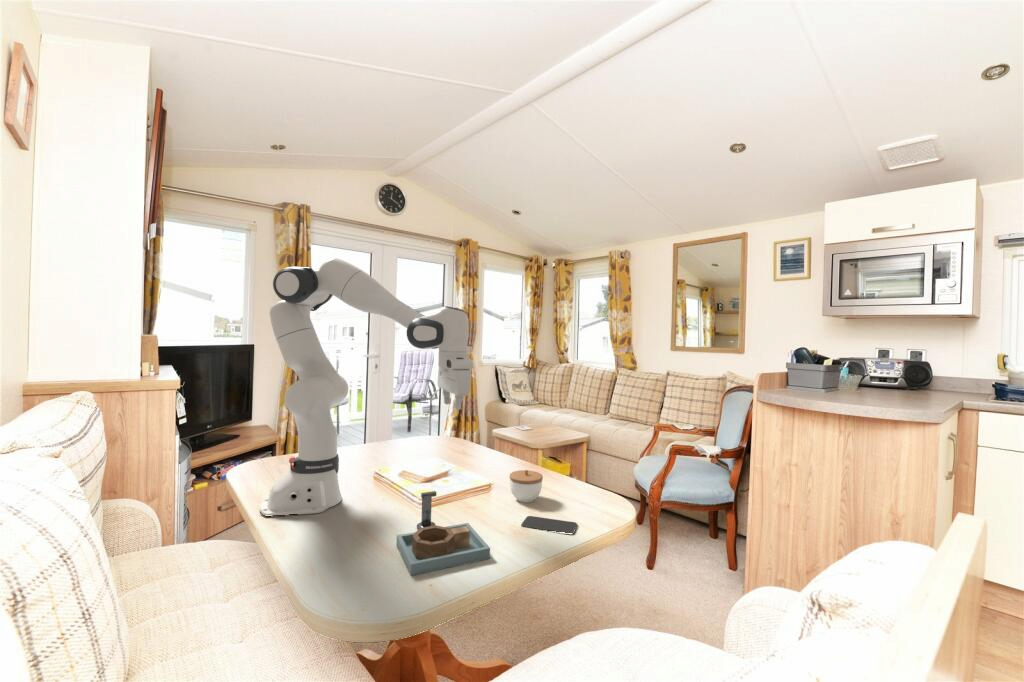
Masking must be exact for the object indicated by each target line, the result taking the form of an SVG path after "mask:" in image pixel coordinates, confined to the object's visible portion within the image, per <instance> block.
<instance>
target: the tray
mask: <svg viewBox="0 0 1024 682" xmlns="http://www.w3.org/2000/svg"><path fill="white" fill-rule="evenodd" d="M463 526H466V527H467V528H468V529H469V530H470V547H466V548H461V549H456V550H454V552H453V553H452V554H448V555H443V556H438V557H433V558H429V559H424V560H420V559H416V558H415V556H414V554H413V552H412V535H413V534H414V533H415V532H416V531H414V532H409V533H403V534H398V535H397V534H396V542H395V543H396V545H397V546H396V548H397V549H398V552H399V553H400V556H401V559H402V560H403V562H404V565H405V567H406V569H407V570H408V572H409V575H410V576H416V575H420V574H424V573H429V571H430V572H435V571H439V570H443V568H444V569H447V568H446V567H448V568H451V566H453V567H456V566H455V565H457V566H461V565H460V564H462V565H465V564H464V563H466V564H470V563H469V562H471V563H474V561H475V562H479V561H483V560H488V559H491V546H489V545H488V544H487V543H486V542H485V541H484V539H483V538H482V537H481V536H480V535H479V534H478V533H477V531H476V530H475V529H474V528H473V527H472V526H471V524H470V523H469V522H465V523H458V524H455V525H454V524H453V525H447V526H446V527H447V528H450V529H452V528H457V527H463ZM438 569H439V570H438Z"/></svg>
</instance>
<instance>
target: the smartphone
mask: <svg viewBox="0 0 1024 682" xmlns="http://www.w3.org/2000/svg"><path fill="white" fill-rule="evenodd" d="M576 526H577V527H578V523H577V522H575V521H568V520H561V519H554V518H547V517H542V516H541V517H540V516H532V515H527V516H526V517H525V519H524V520H523V521H522V522H521V526H520V527H522V528H525V529H526V528H527V529H534V530H537V529H538V531H543V530H547V531H546V532H549V531H556V532H565V533H573V532H574V530H575V528H576ZM576 529H577V528H576ZM575 531H576V530H575ZM574 533H575V532H574Z"/></svg>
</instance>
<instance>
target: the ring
mask: <svg viewBox="0 0 1024 682" xmlns="http://www.w3.org/2000/svg"><path fill="white" fill-rule="evenodd" d="M414 532H415V533H414V534H413V535H412V552H413V554H414V556H415V558H416V559H420V560H424V559H429V558H433V557H438V556H443V555H448V554H452V553H453V552H454V550H456V549H461V548H466V547H470V530H469V529H468V528H467V527H466V526H463V527H457V528H452V529H450V528H447V526H443V525H442V526H440V525H436V524H435V526H430V527H424V528H420V529H419V530H418V529H417V530H416V531H414Z"/></svg>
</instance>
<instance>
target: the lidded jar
mask: <svg viewBox="0 0 1024 682" xmlns="http://www.w3.org/2000/svg"><path fill="white" fill-rule="evenodd" d="M543 478H544V477H543V474H542V473H541V472H537V471H534V470H528V469H519V470H515V471H512V472H511V473H509V488H510V491H511V494H512V495H513V497H514V498H515V499H516V501H518V502H521V503H533V502H534V501H535V499H537V498H538V497H539V495H540V494H541V492H542V488H543Z"/></svg>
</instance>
